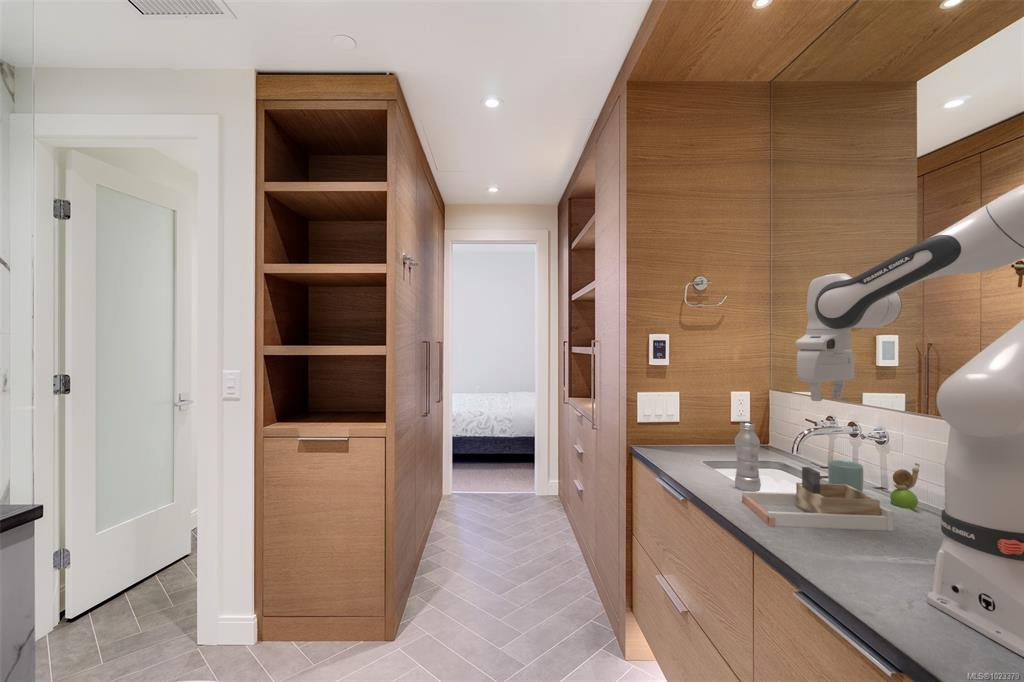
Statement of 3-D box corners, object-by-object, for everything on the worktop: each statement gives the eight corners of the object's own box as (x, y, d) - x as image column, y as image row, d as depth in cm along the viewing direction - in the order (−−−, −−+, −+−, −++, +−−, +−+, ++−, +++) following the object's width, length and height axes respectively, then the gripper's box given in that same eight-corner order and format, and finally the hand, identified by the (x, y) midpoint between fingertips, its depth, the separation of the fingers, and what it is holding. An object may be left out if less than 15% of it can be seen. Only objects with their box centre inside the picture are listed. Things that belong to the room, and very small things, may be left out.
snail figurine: (928, 513, 114) (927, 466, 114) (902, 513, 115) (901, 466, 115) (909, 506, 120) (909, 460, 120) (884, 506, 120) (884, 460, 120)
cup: (863, 507, 119) (863, 469, 119) (827, 501, 124) (827, 464, 124) (863, 499, 125) (863, 463, 125) (829, 493, 130) (828, 458, 130)
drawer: (879, 527, 103) (879, 478, 103) (821, 524, 104) (821, 476, 104) (846, 508, 115) (846, 464, 115) (795, 506, 116) (794, 463, 116)
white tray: (893, 536, 101) (893, 511, 101) (769, 531, 104) (769, 506, 104) (848, 510, 117) (848, 488, 117) (742, 506, 120) (742, 485, 120)
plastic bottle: (764, 496, 127) (764, 425, 127) (738, 495, 128) (737, 424, 129) (756, 489, 133) (756, 421, 134) (731, 488, 135) (731, 420, 135)
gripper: (834, 342, 117) (833, 395, 117) (791, 341, 107) (790, 400, 107) (863, 342, 112) (861, 398, 112) (821, 342, 101) (819, 404, 101)
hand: (826, 399), depth 109 cm, fingers open, 8 cm apart
